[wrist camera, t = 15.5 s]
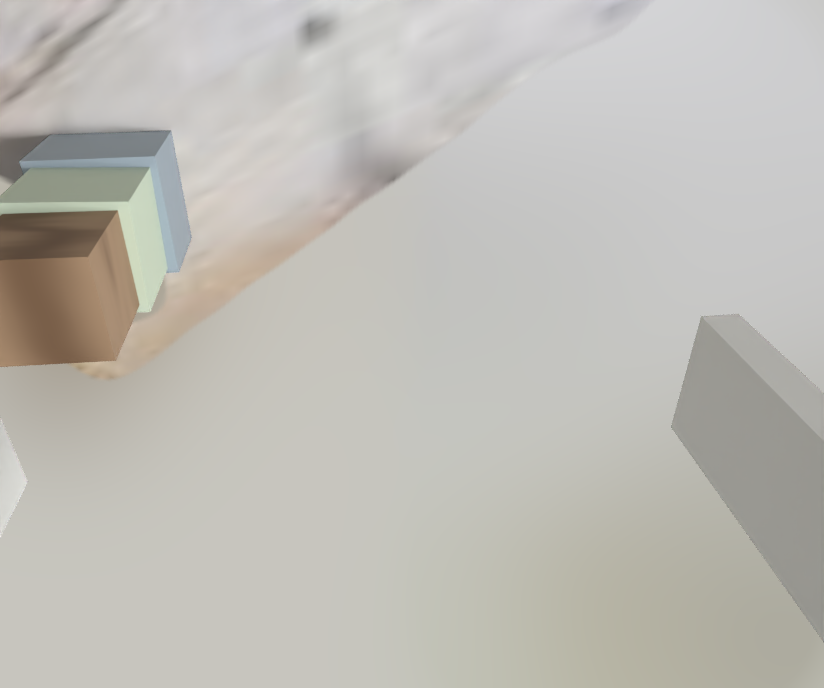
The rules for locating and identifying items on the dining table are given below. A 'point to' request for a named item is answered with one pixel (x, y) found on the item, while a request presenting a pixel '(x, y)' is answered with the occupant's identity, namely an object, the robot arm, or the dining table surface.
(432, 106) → the dining table surface
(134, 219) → the sage block
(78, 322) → the walnut block
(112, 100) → the dining table surface
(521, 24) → the dining table surface
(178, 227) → the slate block
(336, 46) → the dining table surface
